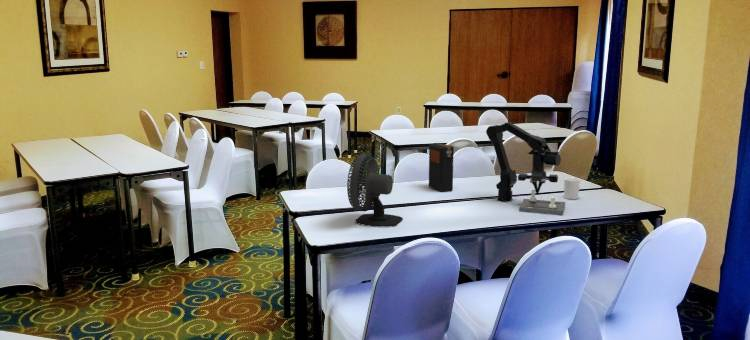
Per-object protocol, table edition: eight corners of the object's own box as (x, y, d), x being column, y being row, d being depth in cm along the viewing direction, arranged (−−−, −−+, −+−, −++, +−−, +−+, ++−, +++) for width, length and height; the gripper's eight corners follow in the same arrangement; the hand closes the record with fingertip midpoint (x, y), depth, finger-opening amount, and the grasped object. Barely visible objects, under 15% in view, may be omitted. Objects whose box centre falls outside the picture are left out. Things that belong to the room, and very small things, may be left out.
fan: (379, 209, 292) (379, 149, 286) (411, 223, 270) (412, 157, 264) (332, 218, 278) (331, 154, 272) (362, 232, 256) (361, 163, 250)
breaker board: (519, 211, 289) (519, 207, 288) (523, 202, 305) (523, 198, 305) (562, 215, 282) (562, 210, 281) (564, 205, 298) (565, 201, 298)
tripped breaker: (529, 201, 298) (529, 191, 297) (530, 199, 302) (530, 189, 301) (535, 201, 297) (536, 191, 296) (536, 199, 301) (536, 190, 300)
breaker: (548, 207, 286) (549, 197, 285) (549, 206, 289) (550, 195, 288) (555, 208, 285) (556, 198, 284) (555, 206, 288) (556, 196, 287)
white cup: (579, 200, 310) (581, 181, 308) (563, 199, 311) (565, 180, 309) (577, 196, 317) (579, 178, 315) (562, 195, 319) (563, 177, 317)
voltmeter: (454, 191, 329) (455, 146, 324) (441, 192, 326) (441, 147, 321) (439, 185, 343) (440, 142, 338) (426, 186, 340) (427, 143, 335)
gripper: (516, 165, 291) (516, 197, 294) (556, 167, 284) (555, 199, 287) (519, 161, 301) (519, 192, 304) (558, 163, 295) (557, 194, 298)
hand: (537, 194), depth 298 cm, fingers closed
